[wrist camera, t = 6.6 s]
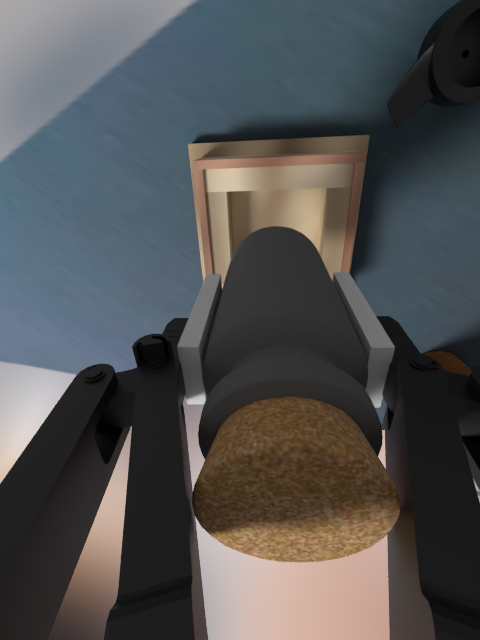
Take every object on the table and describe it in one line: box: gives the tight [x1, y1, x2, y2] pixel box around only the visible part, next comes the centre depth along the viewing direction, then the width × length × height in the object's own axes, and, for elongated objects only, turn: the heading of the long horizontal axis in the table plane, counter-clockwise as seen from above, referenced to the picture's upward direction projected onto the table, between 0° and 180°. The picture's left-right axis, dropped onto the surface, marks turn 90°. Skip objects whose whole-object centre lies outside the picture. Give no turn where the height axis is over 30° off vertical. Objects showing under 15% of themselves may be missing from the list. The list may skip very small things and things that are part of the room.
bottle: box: [192, 226, 400, 562], centre depth 14 cm, size 6×6×15 cm
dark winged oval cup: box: [387, 0, 480, 126], centre depth 21 cm, size 8×10×3 cm
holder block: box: [188, 135, 370, 288], centre depth 27 cm, size 14×14×4 cm
